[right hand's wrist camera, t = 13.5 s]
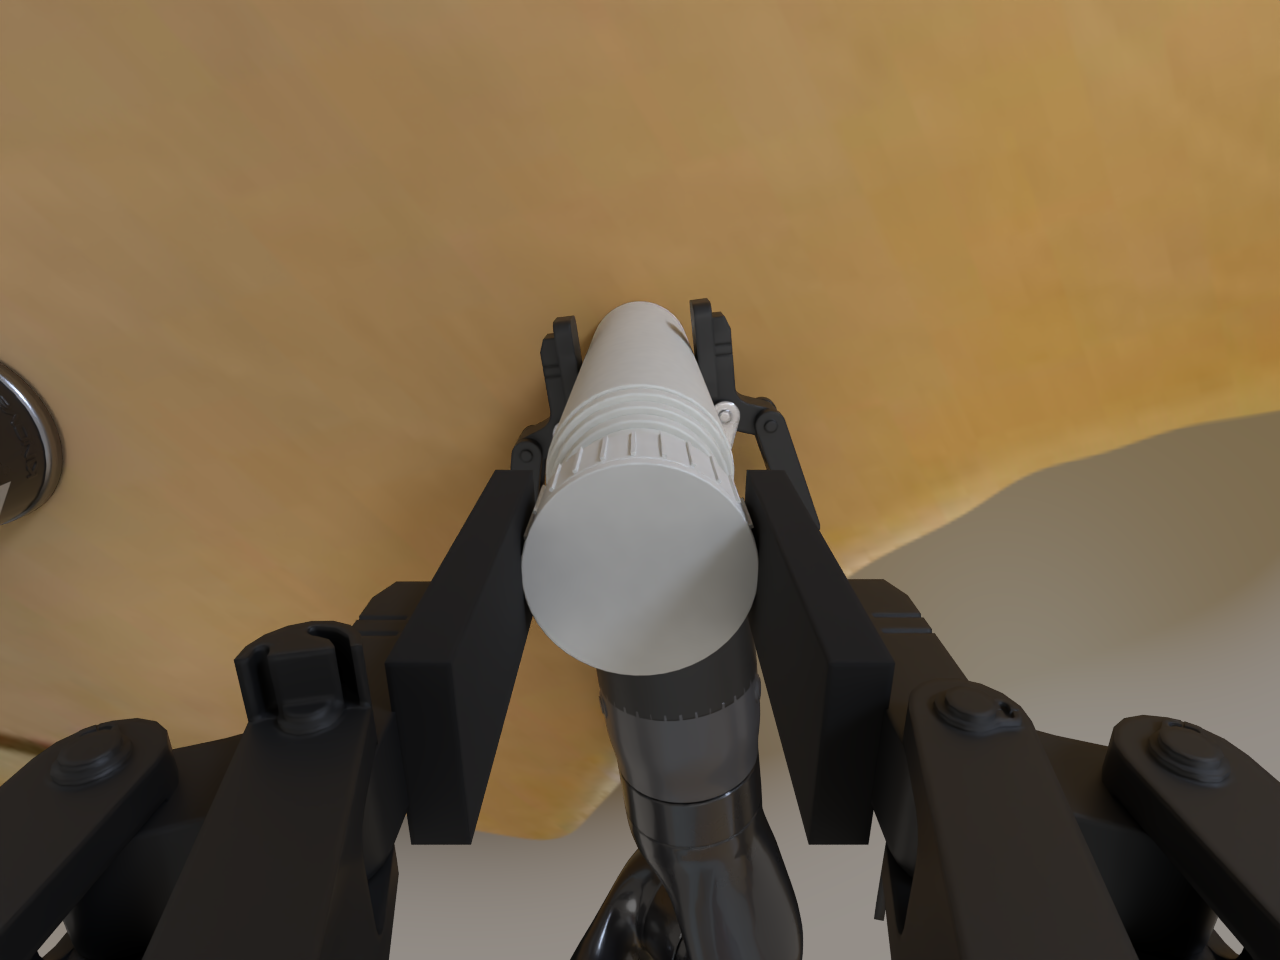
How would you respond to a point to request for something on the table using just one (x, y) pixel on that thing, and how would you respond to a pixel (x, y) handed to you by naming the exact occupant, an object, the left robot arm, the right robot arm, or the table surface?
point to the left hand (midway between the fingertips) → (632, 312)
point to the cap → (639, 555)
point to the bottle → (639, 388)
